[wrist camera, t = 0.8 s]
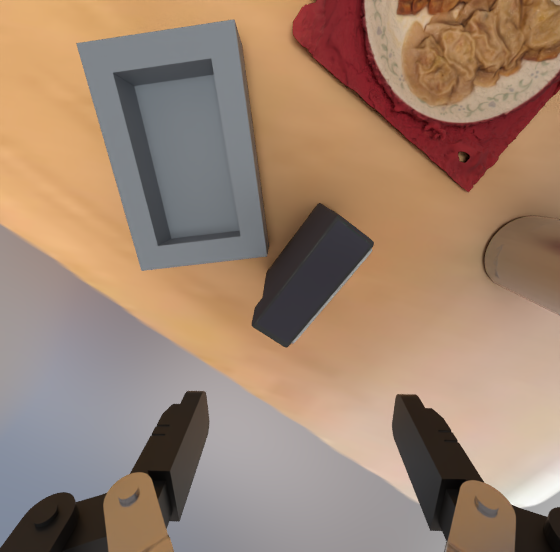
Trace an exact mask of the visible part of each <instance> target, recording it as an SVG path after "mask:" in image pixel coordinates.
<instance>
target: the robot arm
mask: <svg viewBox="0 0 560 552" xmlns="http://www.w3.org/2000/svg"><path fill="white" fill-rule="evenodd" d="M485 268H486V272H487V274H488V276H489V277H490V278H491V280H492V281H493V282H495V283H496V284H498V285H500V286H502V287H504V288H506V289H508V290H510V291H512V292H514V293H516V294H518V295H520V296H522V297H523V298H526V299H528V300H530V301H532V302H534V303H536V304H538V305H540V306H542V307H544V308H546V309H548V310H550V311H552V312H554V313H556V314H558V315H560V219H554V218H548V217H541V216H525V217H522V218H518V219H516V220H514V221H512V222H510V223H508V224H507V225H505V226H504V227H503V228H501V229H500V230H499V231H498V232H497V233H496V234H495V235H494V237H493V238H492V240H491V241H490V243H489V245H488V247H487V250H486V254H485ZM208 429H209V414H208V405H207V397H206V392H204V391H187V392H186V393H185V395H184V397H183V400H182V401H181V404H173V405H171V406H170V407H169V408H168V409H167V410H166V411H165V412H164V413H163V414H162V416H161V418H160V420H159V422H158V424H157V427H155V429H154V431H153V433H152V436H150V438H149V440H148V442H147V444H146V446H145V447H144V449H143V451H142V453H141V455H140V457H139V459H138V460H137V462H136V464H135V466H134V468H133V469H132V471H131V473H130V474H129V475H126V476H125V477H123V478H121V479H120V480H118V481H117V482H116V483H115V484H114V485H113V486H112V487H111V488H110V490H109V491H108V492H107V493H105V494H103V495H99V496H96V497H93V498H89V499H86V500H82V501H79V502H75V499H74V497H73V496H72V495H71V494H70V493H65V492H63V493H57V494H53V495H51V496H48V497H46V498H45V499H43V500H42V501H40V502H38V503H37V504H36V505H34V506H33V507H32V508H31V509H30V510H29V511H28V512H27V513H26V514H25V516H24V517H23V518H22V519H21V521H20V522H19V523H18V525H17V526H16V527H15V529H14V530H13V532H12V533H11V534H10V536H9V537H8V538H7V540H6V541H5V543H4V544H3V545H2V546H1V548H0V552H174V550H173V547H172V544H171V541H170V537H169V535H168V534H167V530H166V529H167V526H168V523H169V521H180V518H181V515H182V512H183V509H184V506H185V503H186V500H187V497H188V493H189V490H190V488H191V484H192V481H193V478H194V475H195V472H196V469H197V466H198V463H199V460H200V457H201V454H202V451H203V448H204V445H205V442H206V438H207V435H208ZM392 430H393V436H394V440H395V442H396V445H397V447H398V450H399V452H400V455H401V458H402V460H403V463H404V465H405V468H406V470H407V473H408V475H409V478H410V480H411V483H412V485H413V488H414V490H415V493H416V495H417V498H418V501H419V503H420V506H421V508H422V511H423V513H424V515H425V518H426V521H427V523H428V526H429V528H430V530H431V531H432V530H433V531H443V534H444V536H445V539H446V541H447V542H446V546H445V550H444V552H560V507H557V508H554V509H552V510H551V511H550V512H549V515H548V517H546V516H542V515H539V514H536V513H533V512H530V511H527V510H524V509H521V508H518V507H516V506H513V505H511V504H510V502H509V501H508V500H507V499H506V498H505V496H504V495H503V494H501V493H500V492H499V491H498V490H496V489H495V488H493V487H492V486H490V485H488V484H486V483H484V481H483V480H482V478H481V477H480V475H479V474H478V472H477V470H476V469H475V467H474V466H473V464H472V463H471V461H470V459H469V458H468V456H467V455H466V453H465V451H464V450H463V448H462V447H461V445H460V444H459V443H458V442H457V439H456V437H455V436H454V434H453V433H452V432H451V429H450V428H449V426H448V425H447V423H446V422H445V420H444V418H442V417H441V416H440V415H439V414H438V413H437V412H435V411H434V410H433V409H432V408H425V407H424V405H423V404H422V402H421V400H420V399H419V397H418V396H417V395H406V394H398V395H397V396H396V399H395V406H394V414H393V421H392Z"/></svg>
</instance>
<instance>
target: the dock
mask: <svg viewBox="0 0 560 552" xmlns="http://www.w3.org/2000/svg"><path fill="white" fill-rule="evenodd" d="M76 44H77V47H78V51H79V54H80V58H81V61H82V65H83V68H84V72H85V75H86V79H87V82H88V86H89V89H90V93H91V96H92V100H93V103H94V107H95V110H96V114H97V117H98V121H99V124H100V128H101V131H102V135H103V138H104V142H105V145H106V148H107V152H108V155H109V159H110V162H111V166H112V169H113V173H114V176H115V180H116V183H117V187H118V190H119V194H120V197H121V201H122V204H123V208H124V211H125V215H126V218H127V222H128V225H129V229H130V232H131V236H132V239H133V243H134V246H135V250H136V253H137V257H138V260H139V264H140V267H141V271H144V270H153V269H161V268H170V267H179V266H188V265H196V264H205V263H214V262H222V261H231V260H240V259H249V258H257V257H266V256H267V254H268V249H269V242H268V235H267V227H266V220H265V212H264V205H263V197H262V190H261V182H260V175H259V168H258V160H257V153H256V145H255V138H254V130H253V123H252V116H251V108H250V101H249V93H248V86H247V78H246V71H245V64H244V56H243V49H242V43H241V40H240V37H239V33H238V30H237V27H236V23H235V20H228V21H221V22H214V23H208V24H201V25H195V26H188V27H181V28H175V29H168V30H162V31H155V32H148V33H142V34H135V35H129V36H122V37H115V38H109V39H102V40H95V41H89V42H82V43H76Z"/></svg>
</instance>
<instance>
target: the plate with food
mask: <svg viewBox="0 0 560 552" xmlns="http://www.w3.org/2000/svg"><path fill="white" fill-rule="evenodd" d="M293 35H294V37H295V38H296V39H297V40H298V42H299V43H300V44H301V45H302V46H303V47H306V48H307V49H308V51H309V53H311V54H312V57H314V58H315V59H316V60H317V61H318V62H319V63H320V64H322V65H323V66H324V67H325V68H327V70H329V71H330V72H331V73H332V74H333V75H334V76H335V77H336V78H338V79H339V80H340V81H341V82H342V83H344V84H345V86H348V87H350V89H353V90H354V91H356V92H357V93H358V94H359V96H360V97H362V98H363V100H364V101H365V102H367V103H368V104H369V105H370V106H371V107H373V108H374V109H376V110H377V111H378V112H379V113H380V114H381V115H382V116H383V117H384V118H385V119H386V120H387V121H389V122H390V123H391V124H392V125H393V126H394V127H395V128H397V129H398V130H399V131H400V132H401V133H402V134H403V135H404V136H405V137H406V138H407V139H408V140H409V141H410V142H412V143H413V144H415V145H416V146H417V147H418V148H419V149H421V150H422V151H423V152H424V153H425V154H427V155H428V157H429V158H430V159H431V160H432V161H433V162H435V163H436V164H437V165H438V166H439V167H441V168H442V170H444V171H446V172H447V174H448V175H449V176H450V177H451V178H452V179H453V180H454V181H455V182H456V183H458V184H459V185H460V186H461V187H462V188H464V189H465V190H466V191H467V192H469V191H470V190H471V189H472V188H473V185H474V184H476V183H477V182H478V181H479V179H480V178H481V177H482V176H483V175H484V173H485V172H486V170H487V169H488V168H490V167H492V166H493V165H494V164H495V163H496V161H497V160H498V158H499V155H500V154H501V153H502V152H503V151H504V150H505V149H506V148H507V147H508V145H509V144H510V143H511V142H512V141H513V140H514V139H516V136H517V135H518V134H519V133H520V132H521V131H522V130H523V129H524V128H525V127H526V125H527V124H529V122H530V121H531V120H532V119H533V117H534V116H535V115H536V114H537V113H538V112H539V110H540V109H541V108H542V107H543V106H544V105H545V103H546V102H547V101H548V100H549V99H550V98H551V97H552V96H553V95H555V94H556V93H557V92H558V91H559V90H560V0H316V3H311V4H308V5H305V6H304V7H302V8H301V10H300V12H299V13H298V15H297V17H296V18H295V20H294V21H293ZM459 151H461V152H462V151H463V152H466V153H467V154H469V155H470V158H469V159H468V161H467V162H465V163H463V162H460V161H459V157H458V153H459Z"/></svg>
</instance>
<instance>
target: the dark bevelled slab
mask: <svg viewBox="0 0 560 552" xmlns="http://www.w3.org/2000/svg"><path fill="white" fill-rule="evenodd" d="M373 245H374V242H373V241H372V240H371V239H370V238H369V237H367V236H366V235H365V234H363V233H362V232H361V231H359V230H358V229H357V228H356V227H354V226H353V225H352V224H350V223H349V222H348V221H347V220H345V219H344V218H343V217H341V216H340V215H339V214H337V213H336V212H334V211H332V210H330V209H328V208H327V207H325V206H324V205H322V204H321V203H319V204H318V205H317V206H316V207H315V208H314V210H313V211H312V212H311V214H310V215H309V217H308V218H307V219H306V221H305V222H304V223H303V225H302V226H301V227H300V229H299V230H298V231H297V233H296V234H295V235H294V237H293V238H292V239H291V241H290V242H289V243H288V245H287V246H286V247H285V249H284V250H283V251H282V253H281V254H280V255H279V257H278V258H277V259H276V261H275V262H274V263H273V265H272V266H271V267H270V269H269V270H268V271H267V273H266V279H265V285H264V292H263V298H262V299H261V300H260V302H259V303H258V304H257V305H256V307H255V310H254V315H253V320H252V327H254V328H255V329H257V330H259V331H260V332H262V333H263V334H265V335H266V336H268V337H270V338H271V339H273V340H274V341H276V342H277V343H279V344H281V345H282V346H284V347H288V346H289V345H290V344H291V343H292V344H293V343H294V342H295V341H296V340H297V339H298V338H299V337H300V336H301V334H302V333H303V332H304V331H305V330H306V329H307V327H308V326H309V325H310V324H311V323H312V322H313V320H314V319H315V318H316V317H317V316H318V314H319V313H320V312H321V311H322V310H323V309H324V307H325V306H326V305H327V304H328V303H329V302H330V300H331V299H332V298H333V297H334V296H335V295H336V293H337V292H338V291H339V290H340V289H341V287H342V286H343V285H344V284H345V283H346V282H347V280H348V279H349V278H350V277H351V276H352V275H353V273H354V272H355V271H356V270H357V269H358V267H359V266H360V265H361V264H362V263H363V262H364V260H365V259H366V258H367V257H368V256H369V254H370V253H371V252H372V247H373Z"/></svg>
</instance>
